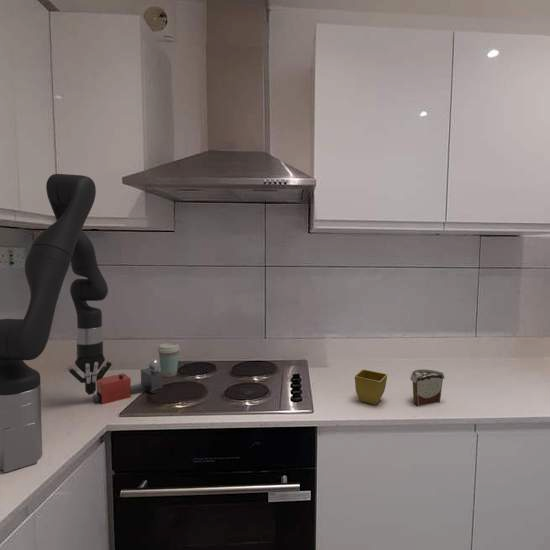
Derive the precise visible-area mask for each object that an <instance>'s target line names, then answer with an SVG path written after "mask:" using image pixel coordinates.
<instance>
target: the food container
mask: <svg viewBox="0 0 550 550" xmlns="http://www.w3.org/2000/svg"><path fill="white" fill-rule="evenodd" d="M444 380H445V374H444V372H442V371H438V370H433V369H415V370H413V371H412V372H411V375H410V381H411V382H412V395H413V396H412V398H413V399H412V400H413V404H414V405H415V406H417V407H424V406H428V405H435V404H440V403H441V397H442V389H443V382H444Z"/></svg>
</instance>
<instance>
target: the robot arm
mask: <svg viewBox="0 0 550 550" xmlns="http://www.w3.org/2000/svg"><path fill="white" fill-rule="evenodd" d="M45 190H46V195H47V199H48V202H49V204H50V207H51V209H52V212H53V214H54V217H55V219H56V221H55V222H53V223H52V224H51V225H49V226H48V227H47V228H46V229H45V230H44V231H42V232H41V233H39V235H38V236H37V237H36V238H35V239H34V240H33V242H32V245H31V247H30V248H29V250H28V251H29V252H28V254H27V257H26V258H25V262H24V273H25V277H26V281H27V285H28V287H29V291H30V298H29V299H30V300H29V304H28V307H27V310H26V314H25V315H24V318H1V319H0V471H2V470H3V474H4V473H5V472H6V473H8V472H12V471H15V469H16V470H19V469H21V468H24V467H28V466H31V465H35V464H37V463H38V460H39V459H40V458H41V457H42V455H43V432H42V431H43V430H42V428H43V426H42V425H43V424H42V400H41V399H42V397H41V396H42V392H41V387H42V386H41V375H40V372H39V371H38V370H36V369H34V368H32V367H30V366H29V365H28V364H26V362H25V361H32V360H35V359H37V358H38V357H39V356H40V355H41V354H42V353H43V352H44V350H45V348H46V346H47V343H48V341H49V338H50V334H51V330H52V326H53V322H54V316H55V312H56V308H57V303H58V299H59V297H60V293H61V291H62V286H63V284H64V281H65V278H66V275H67V272H68V271H69V267H70V266H71V270H72V272H73V274H75V275H76V276H80V277H83V278H76V279H74V280H73V281H72V282H71V284H70V289H69V290H70V291H69V293H70V295H71V299H72V302H73V305H74V309H75V313H76V316H77V317H76V319H77V320H76V322H77V323H76V324H77V325H76V326H77V329H76V341H75V342H76V360H75V362H74V365H72V366H71V367H68V368H67V370H68V372H69V373H70V374H71V375H72V376H73V377H74V378H75V379H76V380H77V381H78V382H79V383H81V384H84V390H85V392H86V393H87V394H88V395H89V396H90V395H94V393H95V392H97V389H96V381H97V380H99V379H102V378H103V377H105V375H106V374H107V372H108V370H109V369H110V368H111V367H112V364H113V363H112V362H110V361H108V360H106V358H105V356H104V332H103V315H102V310H101V308H98V307H93V306H90V305H89V304H88V302H90V301H91V302H93V301H94V302H99V301H103V300H105V299H106V297H108V293H109V289H108V288H109V286H108V283H107V282H106V279H105V277H104V276H103V274H102V272H101V270H100V268H99V266H98V260H97V256H96V250H95V247H94V244H93V242H92V241H91V239H90V238H89V237H88V235H87V234H86V233H85V231H84V230H83V228H84V225H85V223H86V220H87V218H88V216H89V215H90V212H91V210H92V207H93V205H94V203H95V199H96V193H97V189H96V183H95V181H94V180H93V178H91V177H89V176H86V175H80V174H69V173H67V174H65V173H64V174H63V173H54V174H52V175H50V176H49V177H48V179H47V180H46V185H45ZM99 369H100V370H99ZM79 370H80V371H81V372H83V377H82V375H80V374H79V373H78V371H79ZM98 370H99V371H98ZM18 468H19V469H18Z"/></svg>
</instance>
